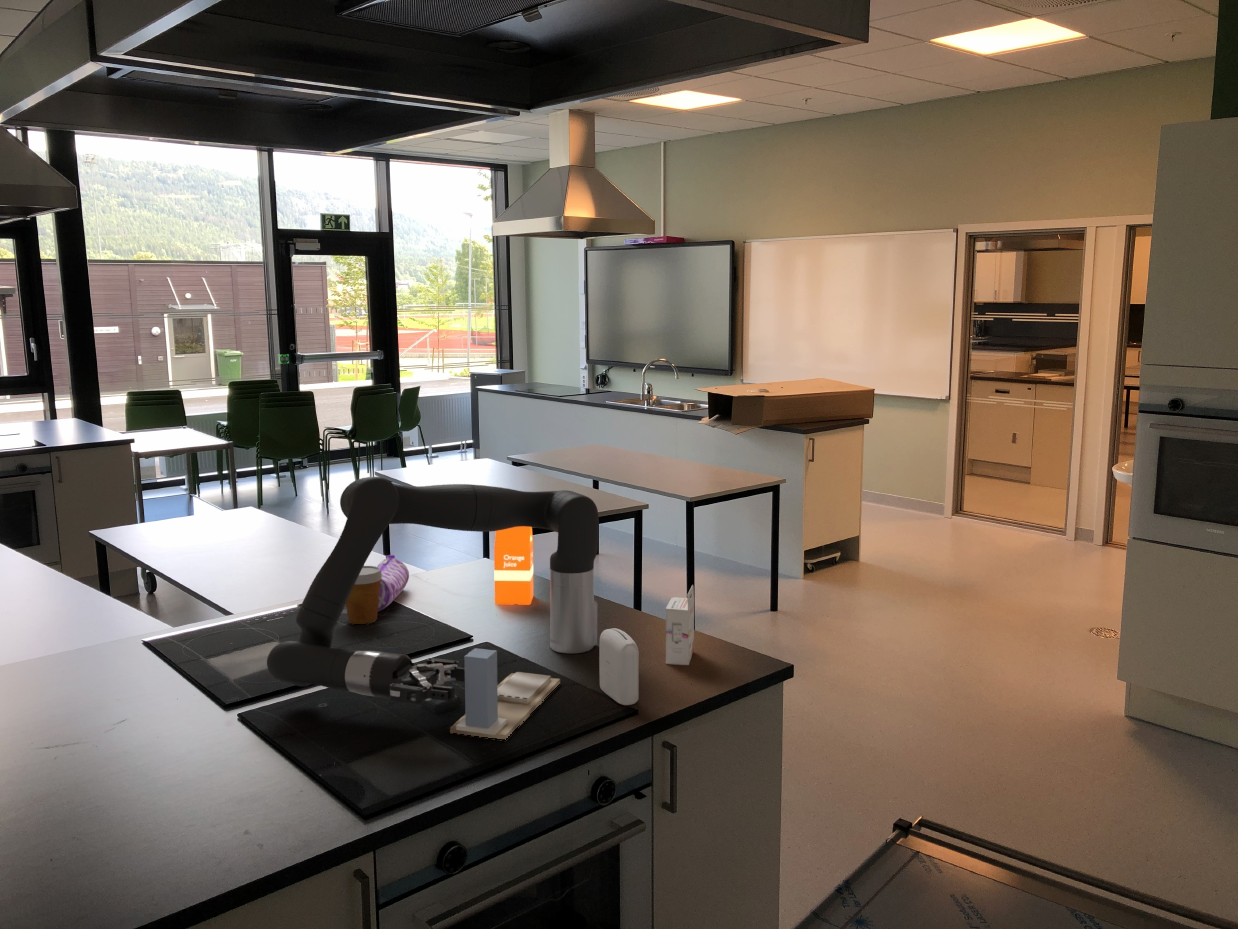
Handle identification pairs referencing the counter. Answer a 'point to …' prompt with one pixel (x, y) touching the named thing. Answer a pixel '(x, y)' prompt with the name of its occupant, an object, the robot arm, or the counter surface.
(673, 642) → the ink cartridge box
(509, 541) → the orange juice
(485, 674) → the panel
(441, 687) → the robot arm
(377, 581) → the disposable coffee cup
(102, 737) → the counter surface
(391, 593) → the pencil case
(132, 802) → the counter surface
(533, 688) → the perforated strip board
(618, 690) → the photo printer
